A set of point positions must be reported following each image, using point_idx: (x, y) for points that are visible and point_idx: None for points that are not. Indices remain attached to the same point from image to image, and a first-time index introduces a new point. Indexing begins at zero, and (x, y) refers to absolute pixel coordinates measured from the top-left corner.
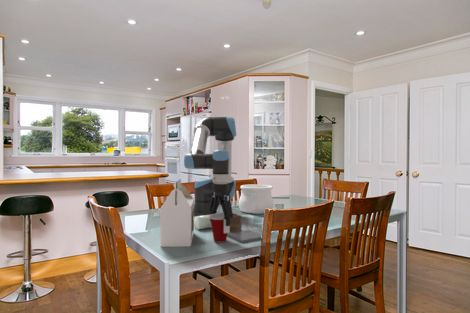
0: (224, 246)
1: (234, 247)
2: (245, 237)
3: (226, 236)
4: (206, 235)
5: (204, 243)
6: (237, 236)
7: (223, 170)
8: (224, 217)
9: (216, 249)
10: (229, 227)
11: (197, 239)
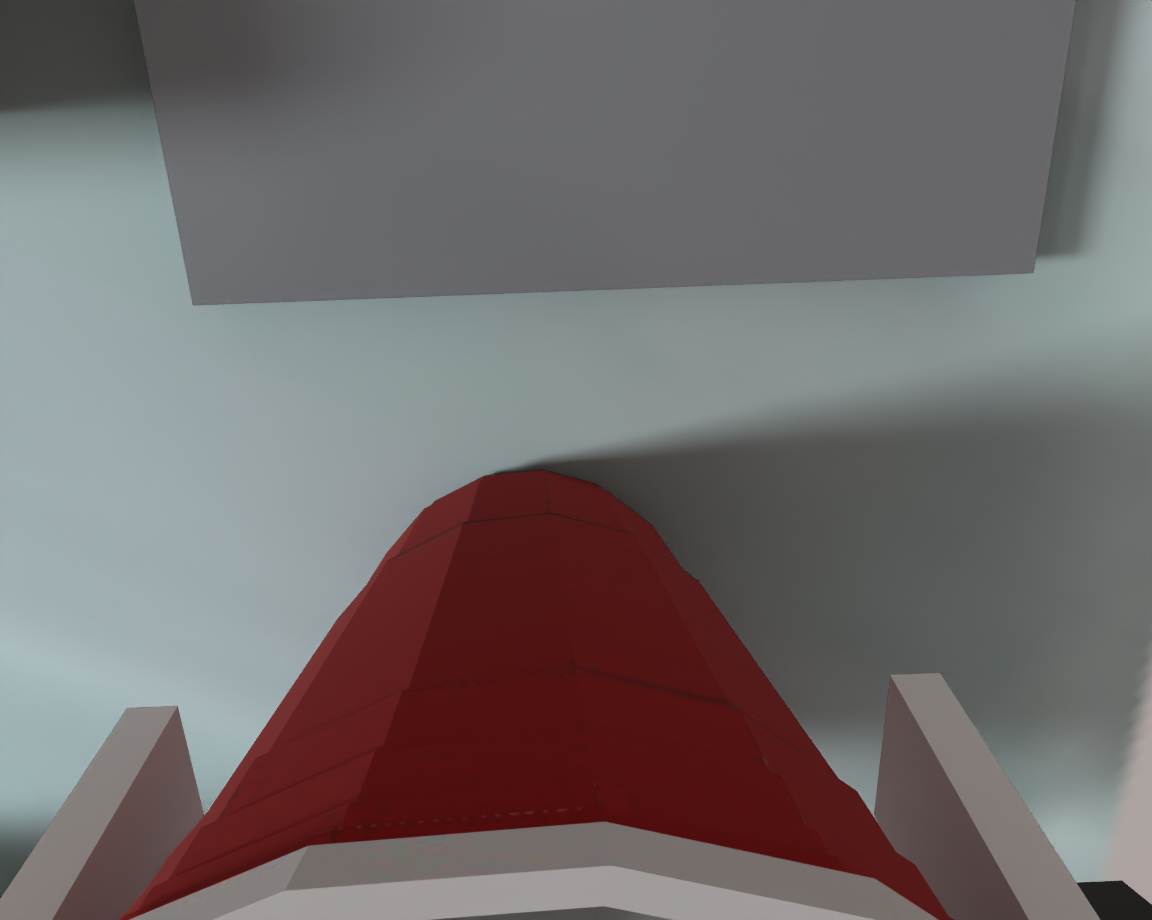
0: None
1: (1123, 560)
2: (868, 3)
3: (675, 559)
4: (13, 671)
5: None
6: (648, 174)
7: None
8: (253, 829)
9: None
10: (1006, 784)
11: None
